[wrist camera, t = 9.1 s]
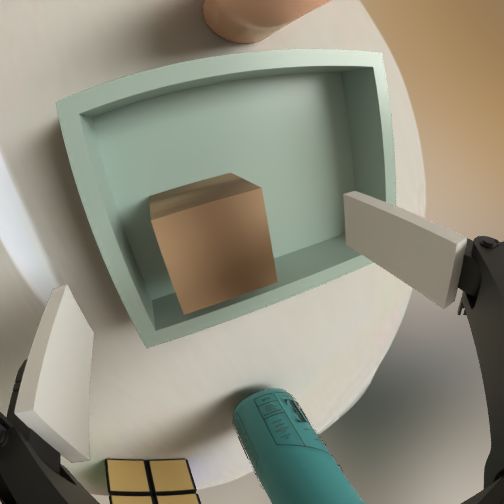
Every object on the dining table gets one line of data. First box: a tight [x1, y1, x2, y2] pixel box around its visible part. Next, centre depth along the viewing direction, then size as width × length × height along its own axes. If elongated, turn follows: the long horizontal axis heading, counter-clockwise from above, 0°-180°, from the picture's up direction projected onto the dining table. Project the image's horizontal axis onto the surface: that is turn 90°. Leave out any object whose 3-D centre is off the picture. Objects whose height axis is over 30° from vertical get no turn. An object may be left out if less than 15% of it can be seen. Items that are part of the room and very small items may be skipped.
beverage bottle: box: [233, 389, 365, 504], centre depth 19 cm, size 6×7×20 cm
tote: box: [56, 49, 396, 348], centre depth 17 cm, size 18×14×4 cm
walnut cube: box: [149, 173, 278, 315], centre depth 16 cm, size 5×5×5 cm
